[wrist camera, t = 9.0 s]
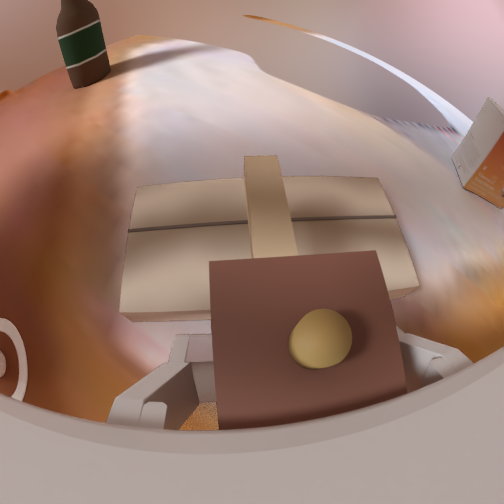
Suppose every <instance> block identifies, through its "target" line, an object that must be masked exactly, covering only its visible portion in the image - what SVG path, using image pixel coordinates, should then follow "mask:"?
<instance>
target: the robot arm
mask: <svg viewBox="0 0 504 504" xmlns="http://www.w3.org/2000/svg"><path fill="white" fill-rule="evenodd" d="M396 328H397V333H398V338H399V343H400V348H401V353H402V359H403V365H404V371H405V378H406V385H407V394H404V395H402V396H399V397H396V398H393V399H390V400H387V401H384V402H381V403H377V404H374V405H371V406H367V407H364V408H360V409H357V410H353V411H349V412H345V413H341V414H337V415H332V416H328V417H323V418H318V419H313V420H308V421H302V422H296V423H290V424H283V425H275V426H267V427H258V428H246V429H231V430H179V428H180V427H181V426H182V425H183V424H184V422H185V421H186V420H187V419H188V418H189V416H190V415H191V414H192V413H193V411H194V410H195V409H196V408H197V406H198V405H199V403H207V402H216V391H215V378H214V364H213V349H212V334H191V335H190V334H180V335H176V336H175V338H174V342H173V346H172V350H171V354H170V357H169V361H168V363H163V364H162V365H160V366H159V367H157V368H156V369H155V370H153V371H152V372H151V373H149V374H148V375H146V376H145V377H144V378H142V379H141V380H140V381H138V382H137V383H135V384H134V385H133V386H131V387H130V388H128V389H127V390H126V391H124V392H123V393H121V394H120V395H118V396H117V397H116V398H115V400H114V403H113V405H112V408H111V411H110V413H109V416H108V419H107V421H106V423H104V422H98V421H93V420H88V419H83V418H78V417H74V416H70V415H66V414H62V413H58V412H54V411H51V410H47V409H44V408H41V407H37V406H34V405H31V404H28V403H25V402H22V401H20V400H17V399H14V398H12V397H9V396H6V395H4V394H2V393H0V504H504V346H503V347H501V348H500V349H498V350H497V351H495V352H493V353H492V354H490V355H488V356H486V357H485V358H483V359H481V360H479V361H477V362H476V363H473V362H472V361H471V360H470V359H469V358H467V357H466V356H465V355H464V354H463V353H462V352H461V351H460V350H459V349H457V348H454V347H450V346H447V345H444V344H441V343H438V342H435V341H431V340H428V339H425V338H422V337H419V336H416V335H413V334H410V333H404V332H403V331H402V330H401V329H400V328H399V327H397V326H396Z"/></svg>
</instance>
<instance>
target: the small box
mask: <svg viewBox="0 0 504 504" xmlns="http://www.w3.org/2000/svg"><path fill="white" fill-rule="evenodd" d="M452 160H453V162H454V165H455V167H456V170H457V173H458V175H459V178H460V181H461V184H462V187H463V188H465V189H467V190H469V191H471V192H473V193H475V194H477V195H479V196H480V197H482V198H484V199H486V200H487V201H489V202H491V203H492V204H494V205H495V206H497V207H498V208H500V209H502V208H503V207H504V109H503V108H502V107H501V106H499V105H498V104H497V103H496V102H494V101H493V100H492V99H490V98H489V97H488V98H487V99H486V101H485V103H484V105H483V107H482V109H481V110H480V112H479V114H478V116H477V117H476V119H475V121H474V123H473V124H472V126H471V128H470V129H469V131H468V133H467V134H466V136H465V138H464V139H463V141H462V142H461V144H460V146H459V147H458V149H457V150H456V152H455V153H454V155H453V156H452Z"/></svg>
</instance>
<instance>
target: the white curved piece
mask: <svg viewBox="0 0 504 504" xmlns="http://www.w3.org/2000/svg"><path fill="white" fill-rule="evenodd" d="M0 331H2V332H5V333H6V334H7V335H9V337H10V338H11V339H12V341H13V343H14V345H15V347H16V351H17V354H18V360H19V380H18V385H17V388H16V390H15V392H14V394H13V395H12V396H11V397H12V398H14V399H17V400H20V401H23V398H24V395H25V392H26V387H27V379H28V366H27V356H26V351H25V347H24V343H23V340H22V338H21V336H20V333H19V332H18V330H17V328H16V327H15V326H14V325H13V323H11V322H10V321H9V320H7V319H4V318H0ZM5 371H6V359H5V356H4V354H3V353H2V352H1V351H0V377H2V376H3V375H4V374H5Z"/></svg>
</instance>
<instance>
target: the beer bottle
mask: <svg viewBox="0 0 504 504" xmlns="http://www.w3.org/2000/svg"><path fill="white" fill-rule="evenodd" d="M56 30H57V36H58V41H59V44H60V48H61V51H62V55H63V58H64V61H65V64H66V68H67V71H68V74H69V77H70V80H71V82H72V85H73V87H74V88H75V89H76V88H81V87H86V86H88V85H90V84H92V83H94V82H96V81H99V80H101V79H102V78H103V77H105V76H106V75H107V74H108V73H109V72H110V65H109V60H108V55H107V51H106V47H105V42H104V38H103V33H102V29H101V23H100V18H99V15H98V11H97V9H96V8H95V7H94V5H93V4H92V3H90V2H89V1H88V0H61V11H60V14H59V16H58V19H57V26H56Z"/></svg>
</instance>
